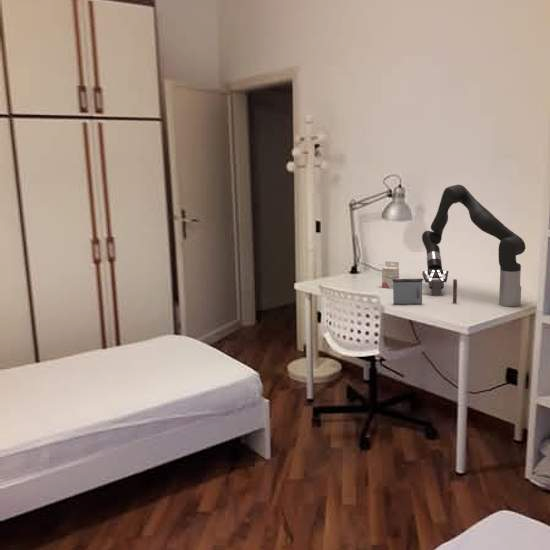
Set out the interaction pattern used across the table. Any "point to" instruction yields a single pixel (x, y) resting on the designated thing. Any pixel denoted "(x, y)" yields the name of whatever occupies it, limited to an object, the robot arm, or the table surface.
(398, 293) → the grey block
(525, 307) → the table surface
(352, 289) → the table surface
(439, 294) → the block
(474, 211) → the robot arm
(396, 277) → the ink cartridge box
